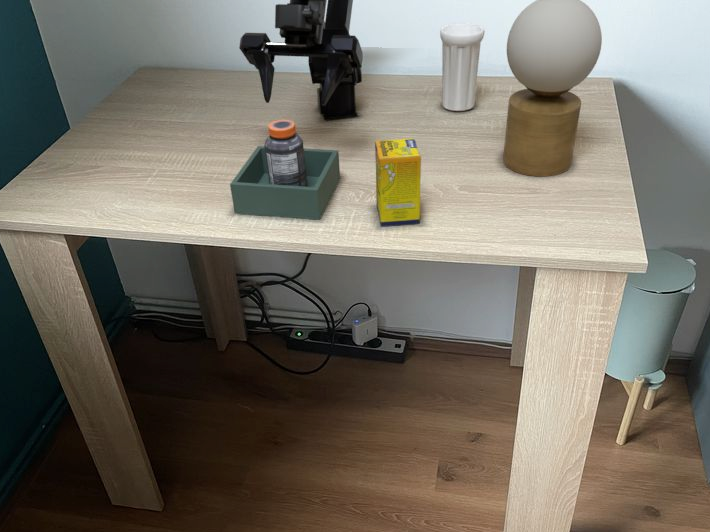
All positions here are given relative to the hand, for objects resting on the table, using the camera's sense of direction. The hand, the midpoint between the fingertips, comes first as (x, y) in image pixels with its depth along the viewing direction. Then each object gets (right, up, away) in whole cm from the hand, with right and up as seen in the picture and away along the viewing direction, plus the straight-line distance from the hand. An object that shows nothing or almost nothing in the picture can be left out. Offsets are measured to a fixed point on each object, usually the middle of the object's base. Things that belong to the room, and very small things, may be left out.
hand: (294, 103), depth 114 cm
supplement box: (+16, -19, -4) cm, 25 cm away
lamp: (+41, -6, +10) cm, 42 cm away
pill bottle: (-1, -14, +2) cm, 14 cm away
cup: (+30, +9, +28) cm, 41 cm away
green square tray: (-1, -14, +2) cm, 14 cm away
